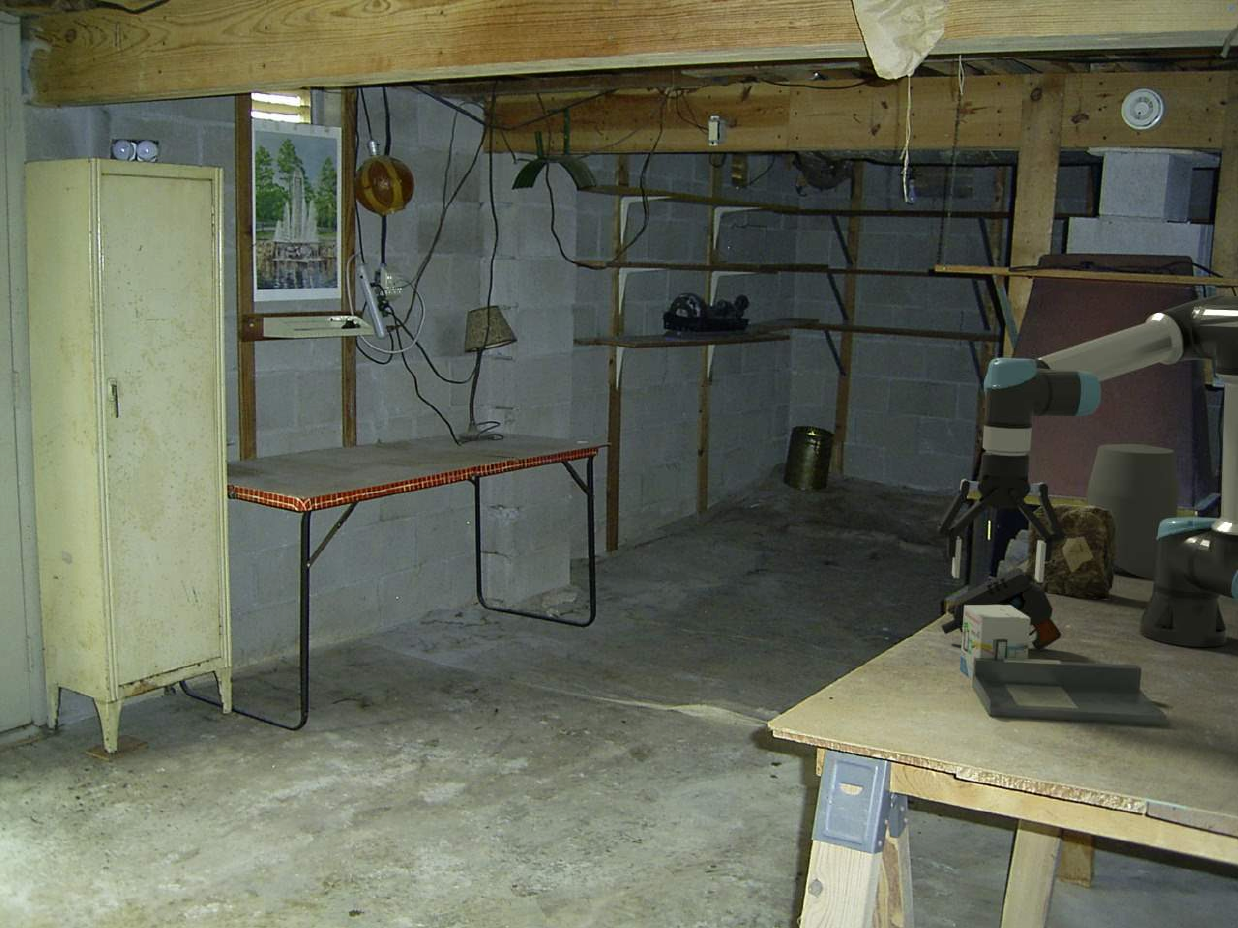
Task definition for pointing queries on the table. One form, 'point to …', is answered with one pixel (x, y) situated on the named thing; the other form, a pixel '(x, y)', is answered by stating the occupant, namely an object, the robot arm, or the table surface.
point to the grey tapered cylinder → (1135, 499)
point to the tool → (1010, 592)
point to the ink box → (993, 634)
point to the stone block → (1077, 552)
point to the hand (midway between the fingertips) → (996, 578)
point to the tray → (1063, 691)
